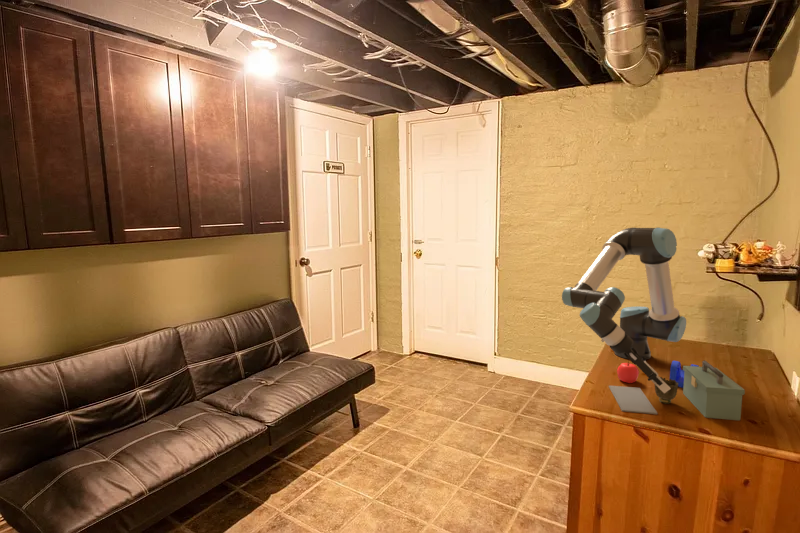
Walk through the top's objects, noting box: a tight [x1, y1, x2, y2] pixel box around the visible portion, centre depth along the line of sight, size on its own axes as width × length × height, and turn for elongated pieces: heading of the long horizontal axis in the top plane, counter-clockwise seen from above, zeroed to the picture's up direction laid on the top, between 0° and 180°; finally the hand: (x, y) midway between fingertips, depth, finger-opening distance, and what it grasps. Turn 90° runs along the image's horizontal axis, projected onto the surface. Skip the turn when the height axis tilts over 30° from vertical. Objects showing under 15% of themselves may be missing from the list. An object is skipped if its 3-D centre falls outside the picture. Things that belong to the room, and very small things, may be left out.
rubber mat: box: [608, 385, 659, 415], centre depth 161 cm, size 22×11×1 cm, turn 166°
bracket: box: [669, 360, 700, 389], centre depth 177 cm, size 18×8×9 cm, turn 135°
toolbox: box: [682, 360, 746, 421], centre depth 153 cm, size 21×11×14 cm, turn 166°
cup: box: [654, 376, 679, 405], centre depth 157 cm, size 8×7×8 cm
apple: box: [616, 361, 640, 384], centre depth 178 cm, size 8×8×8 cm
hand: (661, 383), depth 157 cm, fingers open, 13 cm apart
